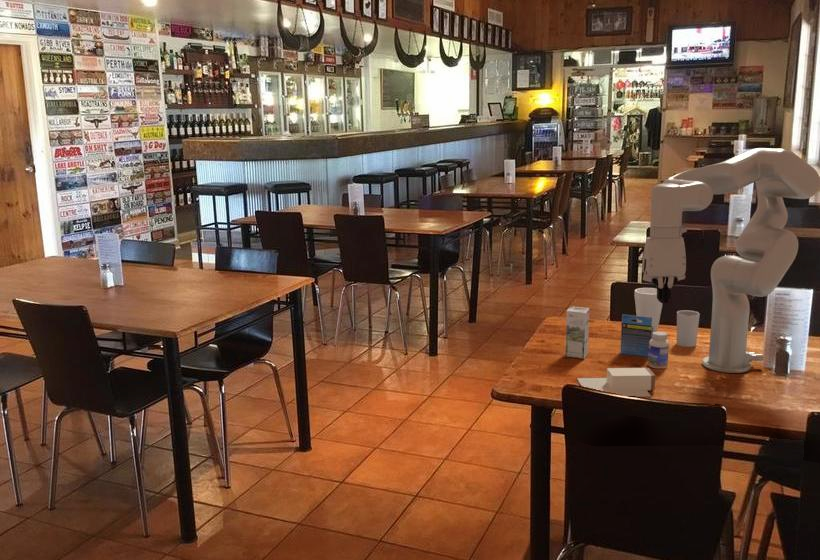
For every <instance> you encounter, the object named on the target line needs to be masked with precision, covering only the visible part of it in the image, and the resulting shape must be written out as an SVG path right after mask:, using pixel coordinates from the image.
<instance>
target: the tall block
mask: <svg viewBox="0 0 820 560" xmlns="http://www.w3.org/2000/svg"><path fill="white" fill-rule="evenodd" d="M605 378H606V383H607V384H608V386H609V387H610V389H611V390H612V391H622V390H647V391H655V390H656V375H655V373H654V372H653V371H652V370H651V369H650V368H649V367H615V368H614V367H612V368H611V367H610V368H609V367H608V368H606V377H605Z"/></svg>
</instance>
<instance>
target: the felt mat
mask: <svg viewBox="0 0 820 560" xmlns="http://www.w3.org/2000/svg"><path fill="white" fill-rule="evenodd" d="M606 378H607V377H577V378H576V379H577V382H578V383H579V385H581V386H584V387H589V388H593V389H596V390H601V391H606V392H611V393H616V394H622V395H628V396H636V397H635V398H644V397H645V398H646V397H647V398H652V397H651V396H652V395H651V394H650V393H649V392H648V391H649V390H622V391H612V390H611V389H610V387H609V386H608V384H607V383H606ZM581 386H580V387H581Z"/></svg>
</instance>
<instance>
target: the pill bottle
mask: <svg viewBox="0 0 820 560" xmlns="http://www.w3.org/2000/svg"><path fill="white" fill-rule="evenodd" d="M652 338H653V339H651V340H650V341H649V352H648V357H647V365H648V366H649V367H650V368H653V369H660V370H661V369H667V367H668V366H669V364H668V363H669V352H670V351H669V350H670V343H669V340H667V339H668V333H667V332H666V331H658V330H657V331H653V333H652Z"/></svg>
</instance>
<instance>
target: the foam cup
mask: <svg viewBox="0 0 820 560" xmlns="http://www.w3.org/2000/svg"><path fill="white" fill-rule="evenodd" d="M633 296H634V301H635V302H634V303H635V312H636V314H635V316H641V317H651V318H652V327H653V332H656V330H657V329H659V324H660V319H661V315H662V309H663V304H664V303H661V302H659V301H658V299H657V288H654V287H639V288H636V289H634V295H633ZM636 322H642V321H641V320H638V319H636ZM657 331H658V330H657Z"/></svg>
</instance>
